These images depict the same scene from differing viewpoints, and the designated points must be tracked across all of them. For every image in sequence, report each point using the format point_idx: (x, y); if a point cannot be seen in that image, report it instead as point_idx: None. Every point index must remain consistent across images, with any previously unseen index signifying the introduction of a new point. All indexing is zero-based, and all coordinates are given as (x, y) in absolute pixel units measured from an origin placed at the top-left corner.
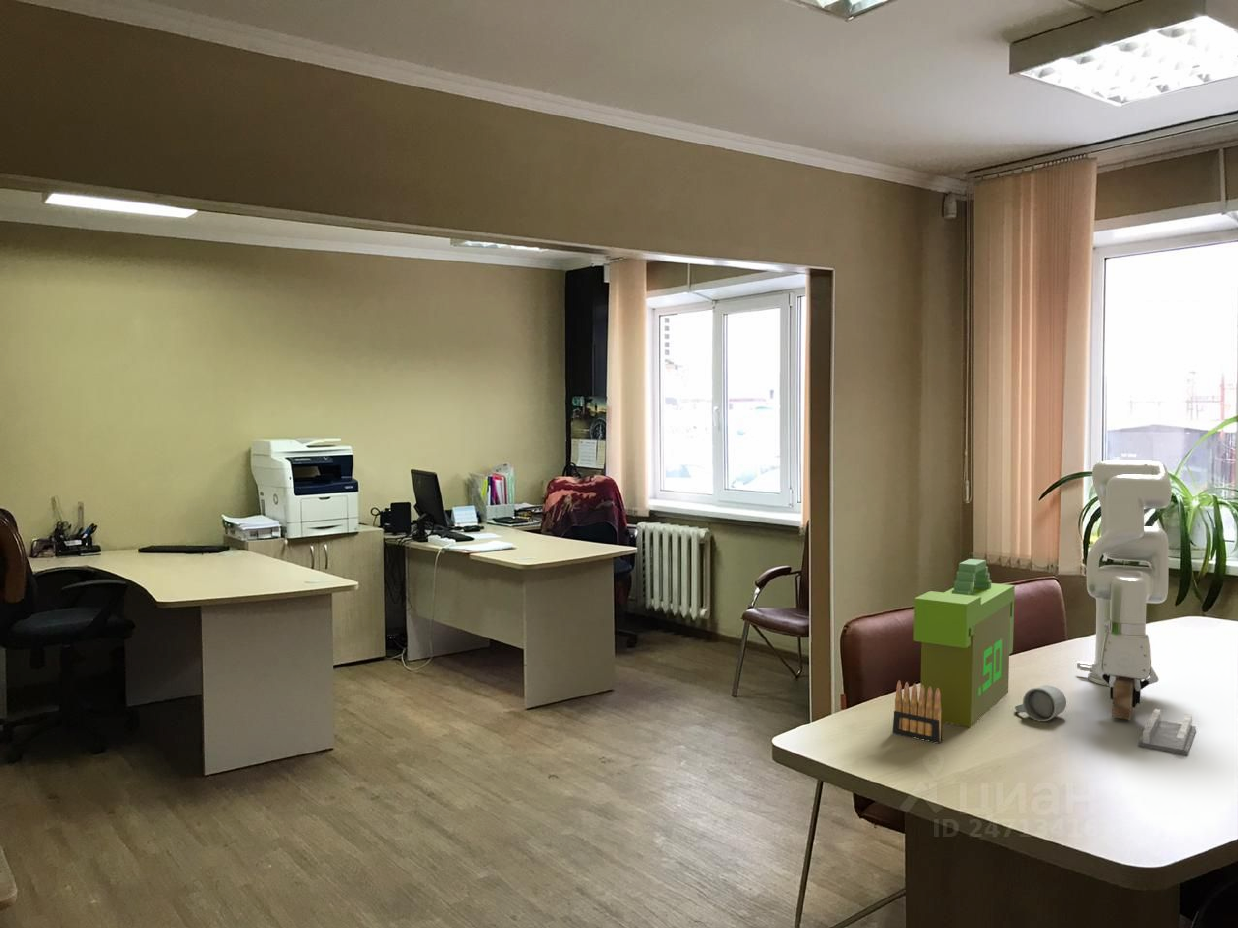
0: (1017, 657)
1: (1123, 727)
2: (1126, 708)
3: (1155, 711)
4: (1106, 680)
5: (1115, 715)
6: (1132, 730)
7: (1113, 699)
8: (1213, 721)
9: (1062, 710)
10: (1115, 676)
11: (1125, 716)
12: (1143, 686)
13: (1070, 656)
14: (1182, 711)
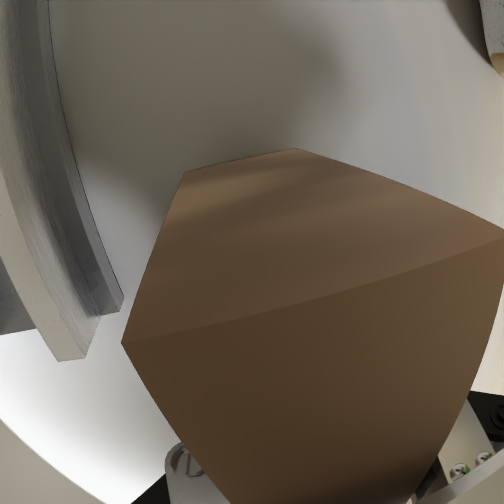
0: None
1: (187, 75)
2: (204, 181)
3: (44, 302)
4: (478, 399)
5: (277, 152)
6: (125, 61)
7: (345, 167)
8: (49, 443)
9: (489, 13)
10: (450, 471)
11: (209, 168)
12: (155, 495)
13: None
14: (152, 471)
